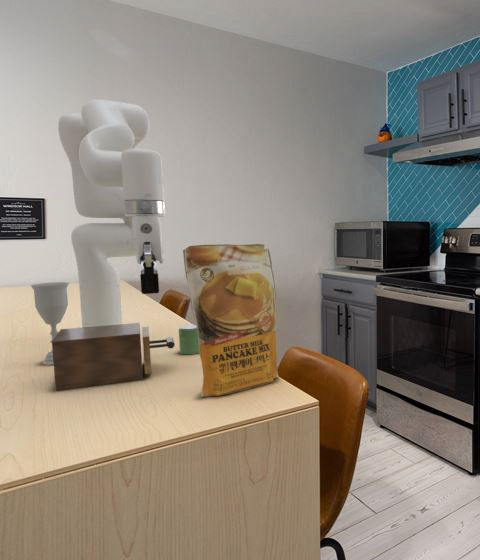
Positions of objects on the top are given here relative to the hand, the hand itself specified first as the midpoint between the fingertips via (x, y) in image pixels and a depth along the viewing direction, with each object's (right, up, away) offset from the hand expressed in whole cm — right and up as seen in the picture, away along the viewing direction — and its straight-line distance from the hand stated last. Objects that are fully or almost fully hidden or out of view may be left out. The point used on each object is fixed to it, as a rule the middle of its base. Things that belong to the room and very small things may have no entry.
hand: (150, 290), depth 108 cm
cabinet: (-9, -18, -2) cm, 20 cm away
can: (+1, -16, +18) cm, 24 cm away
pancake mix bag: (+22, -19, -8) cm, 30 cm away
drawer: (-5, -17, 0) cm, 17 cm away
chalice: (-26, -17, +9) cm, 32 cm away
